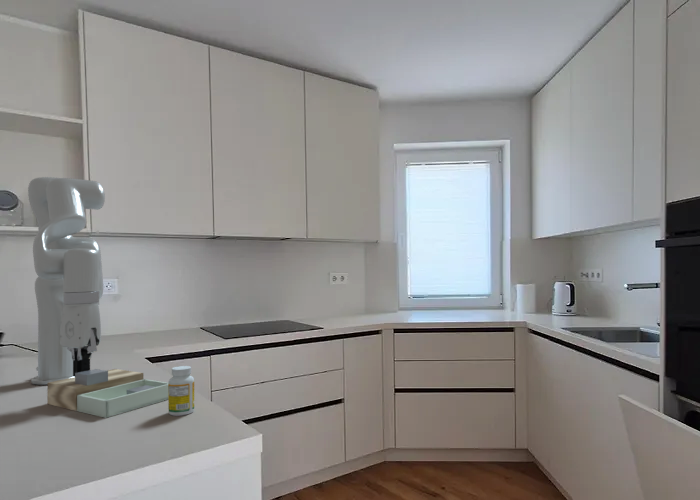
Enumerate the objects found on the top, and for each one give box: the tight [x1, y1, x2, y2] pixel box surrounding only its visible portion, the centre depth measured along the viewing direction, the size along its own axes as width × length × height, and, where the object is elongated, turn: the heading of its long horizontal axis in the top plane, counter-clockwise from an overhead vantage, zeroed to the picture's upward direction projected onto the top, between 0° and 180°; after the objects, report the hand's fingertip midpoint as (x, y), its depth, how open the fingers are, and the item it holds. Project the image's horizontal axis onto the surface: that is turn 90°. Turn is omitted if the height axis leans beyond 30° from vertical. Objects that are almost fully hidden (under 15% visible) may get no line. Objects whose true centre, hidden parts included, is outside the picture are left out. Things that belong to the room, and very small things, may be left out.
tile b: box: [75, 368, 108, 386], centre depth 109 cm, size 5×5×2 cm
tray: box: [77, 378, 168, 419], centre depth 108 cm, size 11×17×4 cm, turn 149°
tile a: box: [127, 385, 154, 395], centre depth 110 cm, size 5×5×2 cm
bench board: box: [46, 368, 145, 412], centre depth 114 cm, size 12×17×5 cm
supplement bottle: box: [167, 365, 195, 417], centre depth 101 cm, size 5×5×10 cm
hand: (81, 375), depth 111 cm, fingers closed
